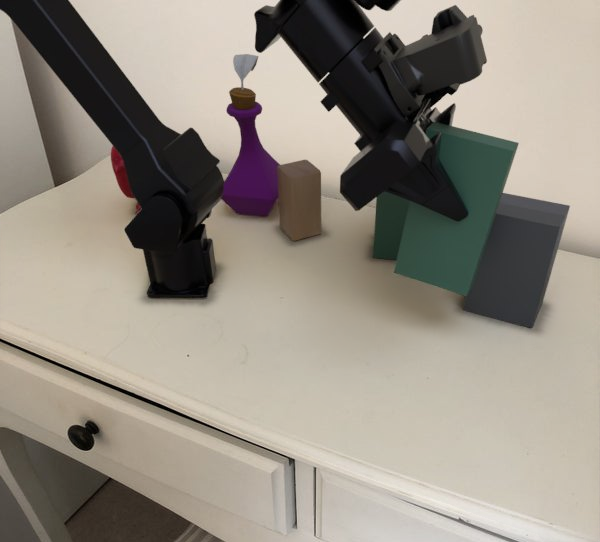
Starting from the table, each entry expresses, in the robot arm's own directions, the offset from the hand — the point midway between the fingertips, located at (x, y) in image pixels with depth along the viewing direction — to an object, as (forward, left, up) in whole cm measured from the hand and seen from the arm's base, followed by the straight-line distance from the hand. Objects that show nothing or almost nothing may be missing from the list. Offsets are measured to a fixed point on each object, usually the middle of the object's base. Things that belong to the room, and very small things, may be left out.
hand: (466, 210), depth 54 cm
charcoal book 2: (+7, +5, -13) cm, 15 cm away
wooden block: (-15, +20, -13) cm, 28 cm away
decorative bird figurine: (-37, +28, -13) cm, 48 cm away
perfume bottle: (-21, +26, -13) cm, 36 cm away
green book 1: (-3, +14, -13) cm, 19 cm away
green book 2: (-2, 0, -7) cm, 7 cm away
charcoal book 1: (+6, +3, -13) cm, 14 cm away
